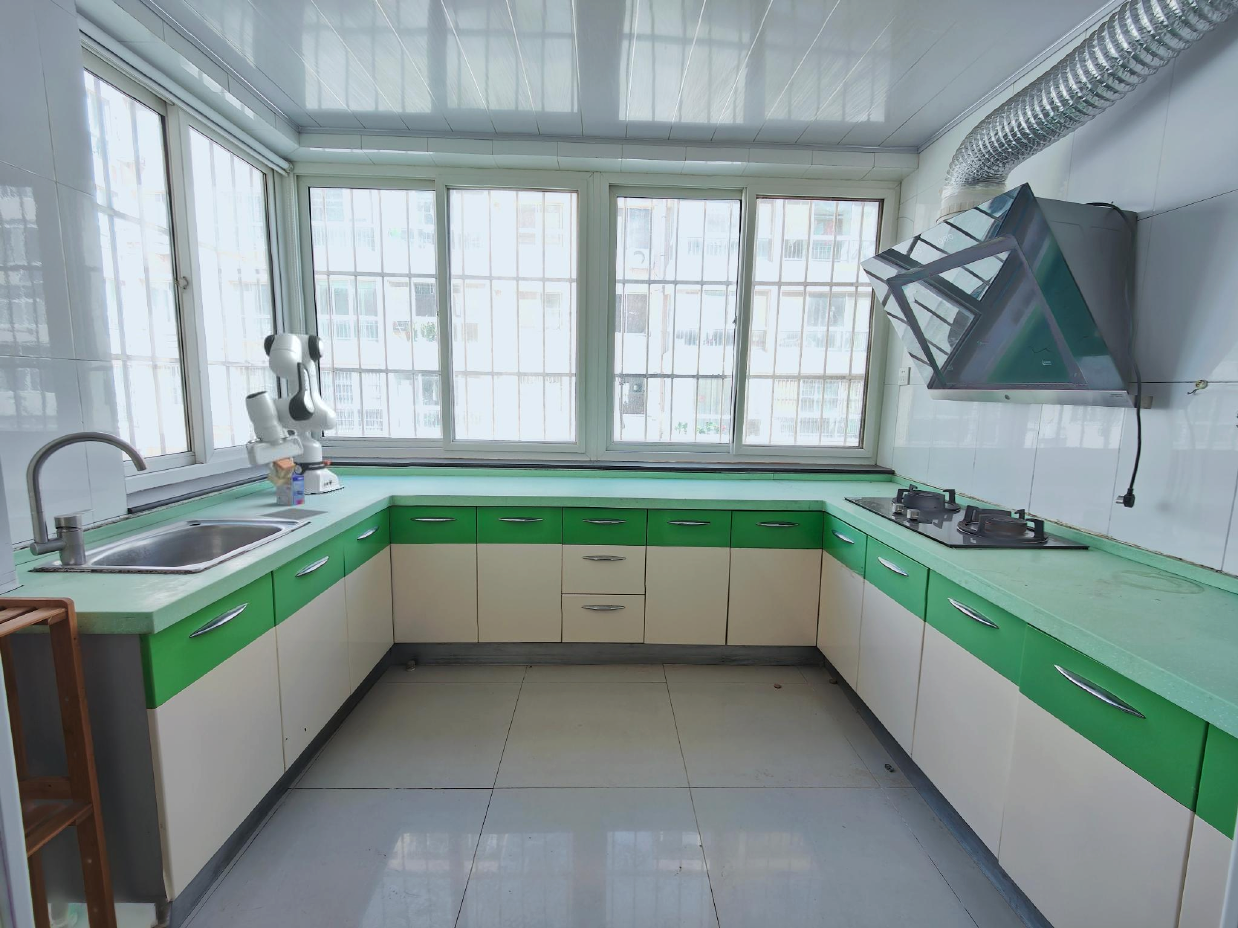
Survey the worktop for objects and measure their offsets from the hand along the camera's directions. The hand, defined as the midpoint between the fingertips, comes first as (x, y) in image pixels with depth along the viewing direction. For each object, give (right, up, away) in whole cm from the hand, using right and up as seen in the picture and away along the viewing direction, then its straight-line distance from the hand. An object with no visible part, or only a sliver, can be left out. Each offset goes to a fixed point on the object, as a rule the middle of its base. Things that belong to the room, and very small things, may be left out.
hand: (283, 472), depth 199 cm
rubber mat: (+3, -16, +2) cm, 17 cm away
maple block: (-3, -3, +2) cm, 5 cm away
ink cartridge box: (-9, -14, +20) cm, 26 cm away
